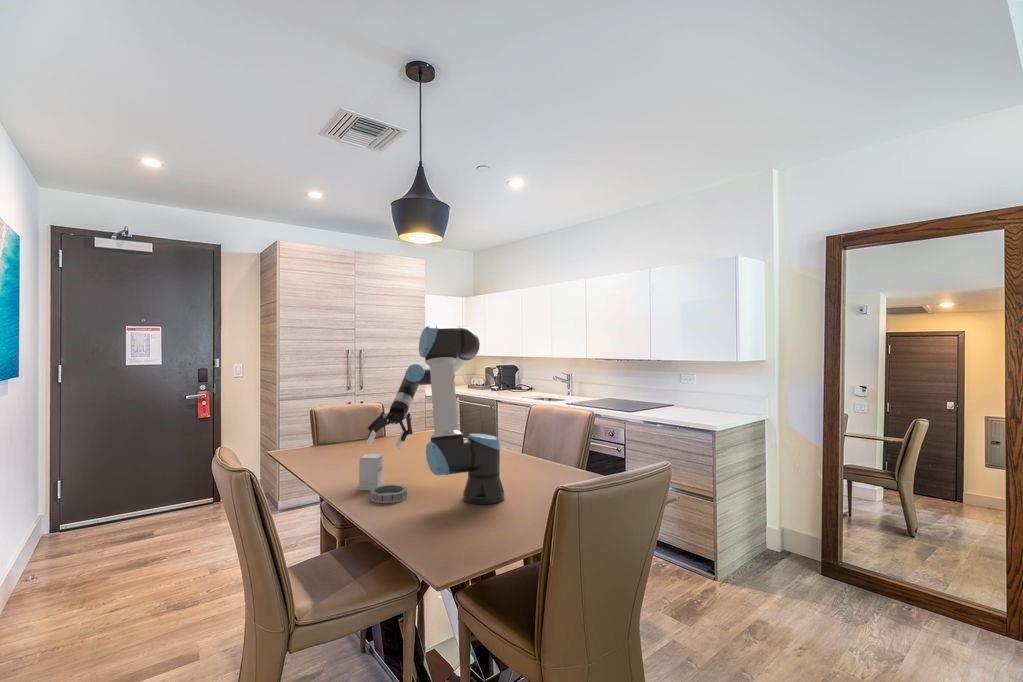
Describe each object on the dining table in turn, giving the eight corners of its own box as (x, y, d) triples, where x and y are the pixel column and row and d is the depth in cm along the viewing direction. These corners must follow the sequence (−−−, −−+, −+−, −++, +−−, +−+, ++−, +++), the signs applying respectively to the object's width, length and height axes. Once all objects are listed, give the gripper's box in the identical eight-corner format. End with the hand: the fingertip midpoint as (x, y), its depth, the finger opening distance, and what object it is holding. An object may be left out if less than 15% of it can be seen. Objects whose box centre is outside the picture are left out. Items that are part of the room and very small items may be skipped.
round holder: (413, 498, 175) (413, 490, 175) (379, 506, 166) (379, 497, 167) (397, 490, 185) (397, 482, 185) (364, 497, 176) (364, 488, 177)
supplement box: (377, 490, 184) (377, 458, 184) (358, 490, 184) (358, 457, 184) (383, 485, 192) (383, 453, 192) (364, 485, 192) (364, 453, 192)
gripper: (429, 411, 211) (413, 453, 196) (379, 409, 218) (359, 449, 203) (424, 401, 206) (407, 442, 191) (372, 398, 213) (352, 439, 198)
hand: (382, 446), depth 197 cm, fingers open, 13 cm apart
